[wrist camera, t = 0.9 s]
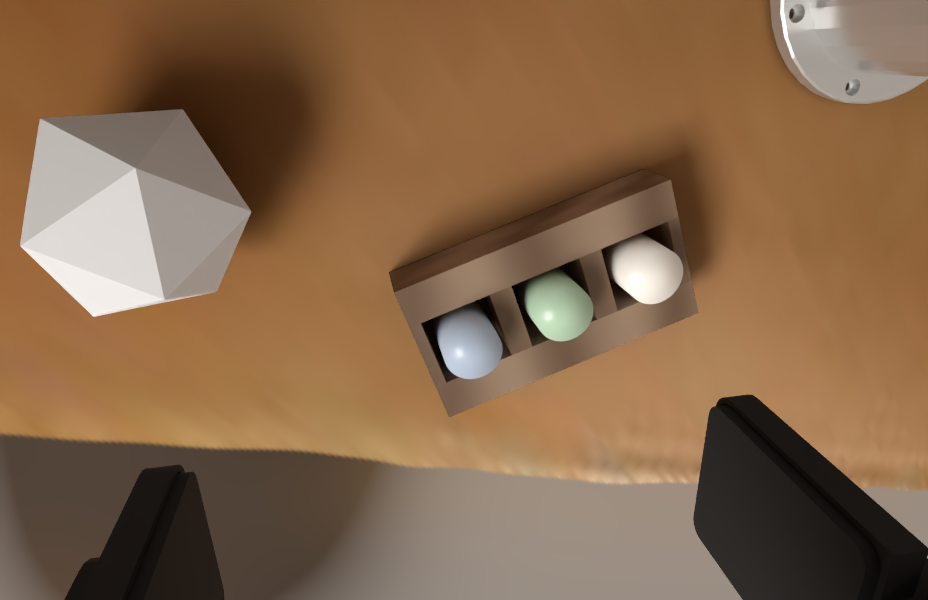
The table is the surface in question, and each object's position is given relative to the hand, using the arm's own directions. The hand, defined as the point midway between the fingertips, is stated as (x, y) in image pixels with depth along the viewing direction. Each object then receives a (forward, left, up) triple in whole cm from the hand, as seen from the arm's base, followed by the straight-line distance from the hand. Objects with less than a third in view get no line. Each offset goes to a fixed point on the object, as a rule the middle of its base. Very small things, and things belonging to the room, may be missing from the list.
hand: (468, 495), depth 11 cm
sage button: (-7, +8, -22) cm, 24 cm away
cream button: (-12, +8, -23) cm, 27 cm away
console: (-7, +8, -23) cm, 25 cm away
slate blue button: (-2, +8, -23) cm, 24 cm away
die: (+9, -4, -23) cm, 25 cm away
